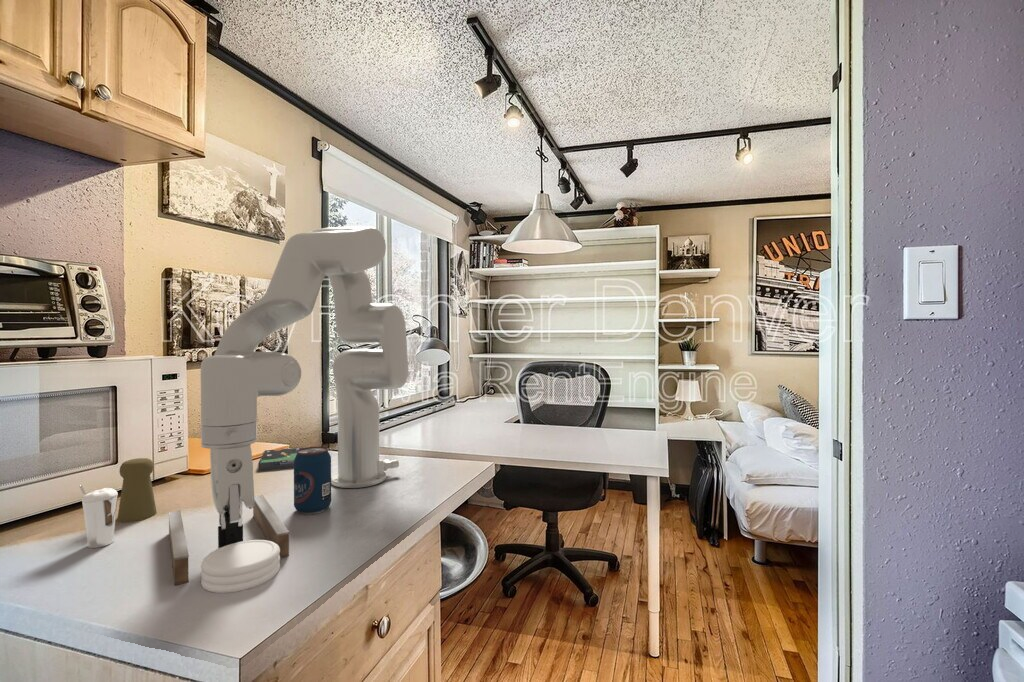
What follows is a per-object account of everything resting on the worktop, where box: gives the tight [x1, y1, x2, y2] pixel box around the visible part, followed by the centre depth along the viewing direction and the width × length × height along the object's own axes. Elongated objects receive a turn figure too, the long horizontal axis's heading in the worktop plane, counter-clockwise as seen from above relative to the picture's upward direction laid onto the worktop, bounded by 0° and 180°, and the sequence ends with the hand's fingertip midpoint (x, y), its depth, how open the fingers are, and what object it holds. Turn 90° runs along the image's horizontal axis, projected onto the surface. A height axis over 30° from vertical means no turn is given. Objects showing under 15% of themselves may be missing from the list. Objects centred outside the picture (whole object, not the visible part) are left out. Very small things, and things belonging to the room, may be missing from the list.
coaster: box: [200, 539, 281, 594], centre depth 70 cm, size 10×10×4 cm
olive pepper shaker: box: [116, 457, 158, 523], centre depth 92 cm, size 6×6×11 cm
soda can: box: [293, 446, 332, 515], centre depth 96 cm, size 7×7×12 cm
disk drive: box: [257, 447, 303, 472], centre depth 132 cm, size 10×3×15 cm
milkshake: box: [79, 484, 119, 549], centre depth 80 cm, size 4×5×10 cm
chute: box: [168, 494, 290, 586], centre depth 80 cm, size 15×22×4 cm
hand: (230, 550), depth 75 cm, fingers closed
